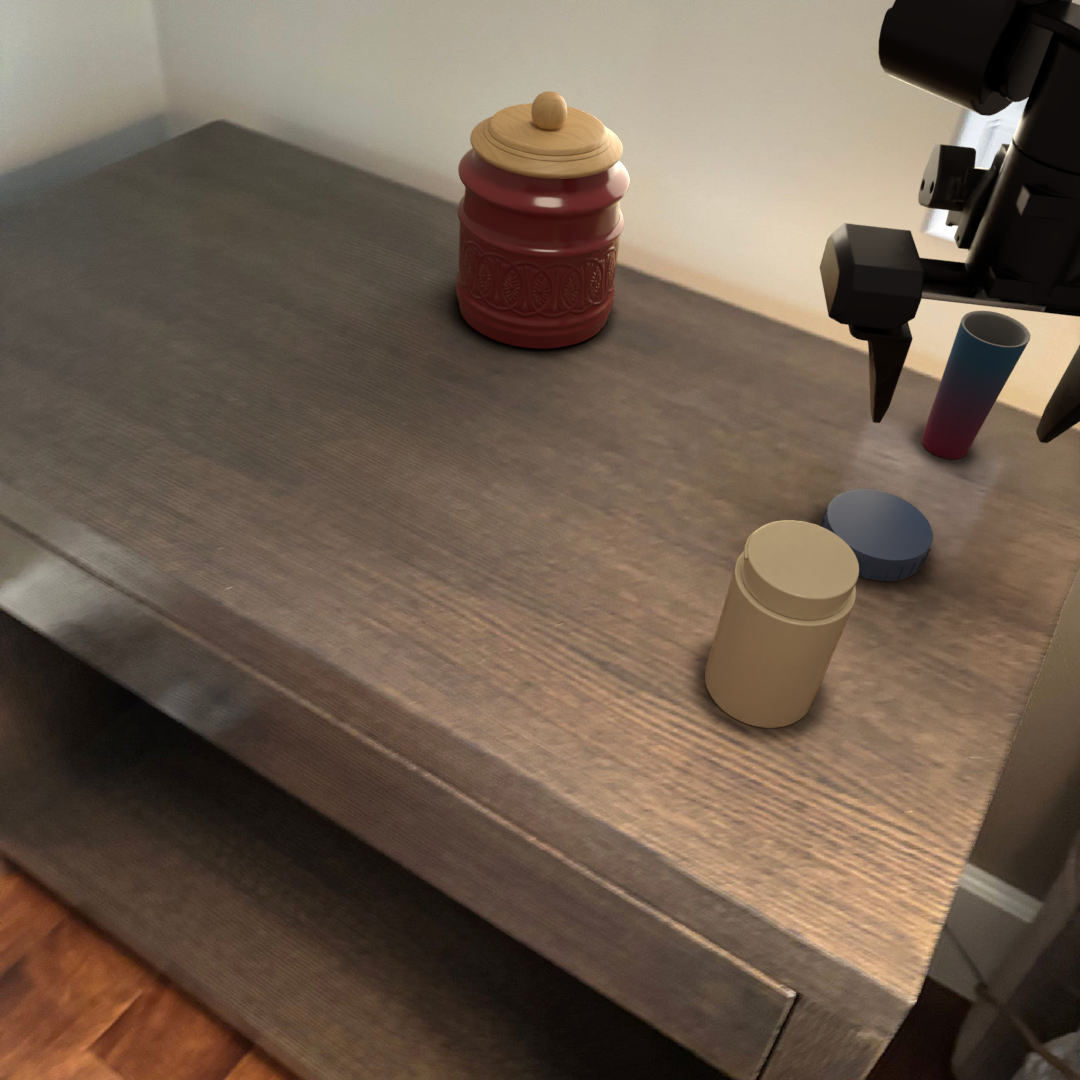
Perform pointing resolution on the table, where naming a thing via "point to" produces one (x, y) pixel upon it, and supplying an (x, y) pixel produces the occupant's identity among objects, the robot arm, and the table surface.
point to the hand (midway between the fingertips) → (957, 428)
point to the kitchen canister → (540, 224)
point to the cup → (973, 380)
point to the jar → (781, 622)
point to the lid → (880, 532)
